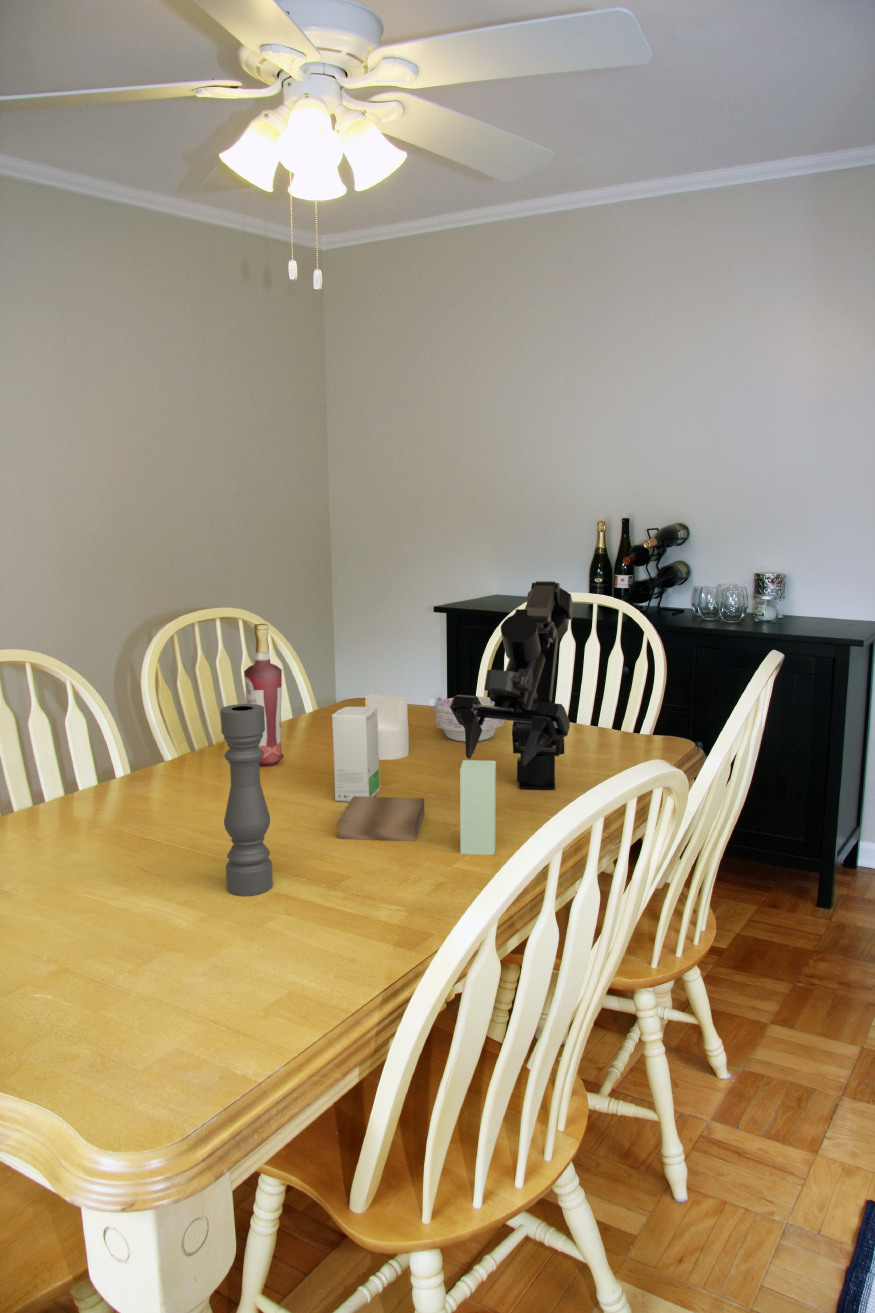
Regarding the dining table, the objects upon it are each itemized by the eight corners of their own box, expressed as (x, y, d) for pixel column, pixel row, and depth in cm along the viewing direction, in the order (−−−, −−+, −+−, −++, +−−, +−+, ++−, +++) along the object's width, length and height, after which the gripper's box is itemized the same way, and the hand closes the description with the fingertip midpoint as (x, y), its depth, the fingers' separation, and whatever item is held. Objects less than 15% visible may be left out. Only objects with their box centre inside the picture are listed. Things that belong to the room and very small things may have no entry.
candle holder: (251, 900, 126) (243, 715, 122) (217, 890, 129) (208, 710, 125) (282, 883, 131) (275, 706, 127) (248, 874, 134) (241, 701, 130)
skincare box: (368, 804, 165) (366, 716, 162) (331, 801, 166) (329, 714, 164) (380, 789, 173) (379, 705, 171) (346, 787, 174) (343, 704, 172)
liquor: (291, 764, 190) (286, 625, 185) (257, 770, 186) (251, 628, 181) (275, 756, 196) (270, 621, 191) (242, 762, 192) (236, 624, 187)
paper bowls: (431, 730, 217) (431, 696, 215) (497, 727, 218) (497, 694, 217) (439, 747, 202) (438, 710, 201) (509, 744, 203) (509, 708, 202)
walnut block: (424, 815, 159) (424, 798, 158) (415, 841, 147) (415, 822, 147) (353, 813, 160) (353, 796, 160) (338, 838, 148) (338, 820, 148)
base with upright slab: (417, 751, 198) (416, 695, 196) (392, 762, 191) (391, 703, 189) (382, 746, 203) (381, 691, 201) (356, 755, 196) (355, 698, 194)
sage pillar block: (495, 842, 146) (495, 760, 144) (494, 854, 141) (494, 770, 139) (463, 841, 147) (462, 760, 145) (460, 853, 142) (460, 769, 140)
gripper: (454, 645, 154) (424, 726, 146) (565, 652, 145) (539, 739, 137) (474, 685, 162) (446, 764, 154) (580, 694, 154) (556, 778, 146)
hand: (494, 760), depth 147 cm, fingers open, 9 cm apart
